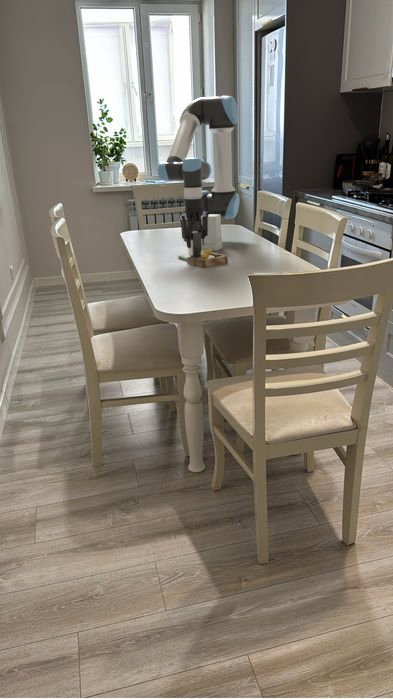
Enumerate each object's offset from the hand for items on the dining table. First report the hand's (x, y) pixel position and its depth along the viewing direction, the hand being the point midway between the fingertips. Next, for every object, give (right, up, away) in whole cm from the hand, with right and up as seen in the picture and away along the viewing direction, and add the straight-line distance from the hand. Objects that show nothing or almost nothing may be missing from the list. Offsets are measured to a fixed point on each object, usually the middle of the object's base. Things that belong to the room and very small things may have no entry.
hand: (195, 254), depth 222 cm
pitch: (+2, -3, -2) cm, 5 cm away
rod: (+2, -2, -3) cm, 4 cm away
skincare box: (+7, +5, +18) cm, 20 cm away
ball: (+6, -4, -9) cm, 12 cm away
